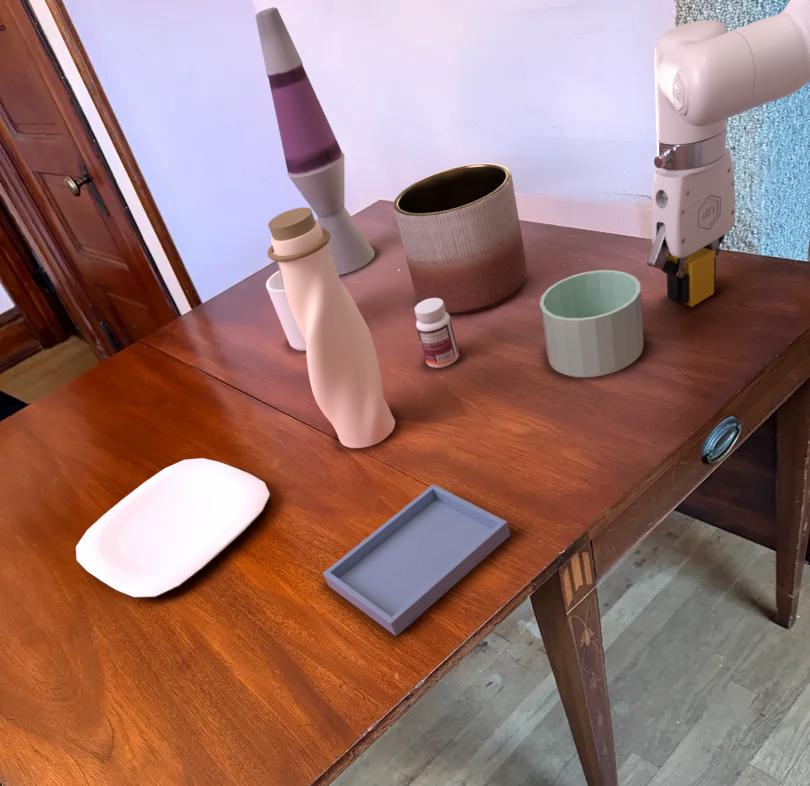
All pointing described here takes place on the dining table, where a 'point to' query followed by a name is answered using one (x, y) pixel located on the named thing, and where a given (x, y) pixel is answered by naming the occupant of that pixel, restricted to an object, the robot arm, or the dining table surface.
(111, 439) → the dining table surface
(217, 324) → the dining table surface
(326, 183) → the lamp
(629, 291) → the mint faceted tub
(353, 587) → the tray
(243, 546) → the dining table surface
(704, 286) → the yellow block
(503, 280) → the planter
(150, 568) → the plate
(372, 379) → the water bottle
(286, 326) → the mug
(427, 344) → the pill bottle
